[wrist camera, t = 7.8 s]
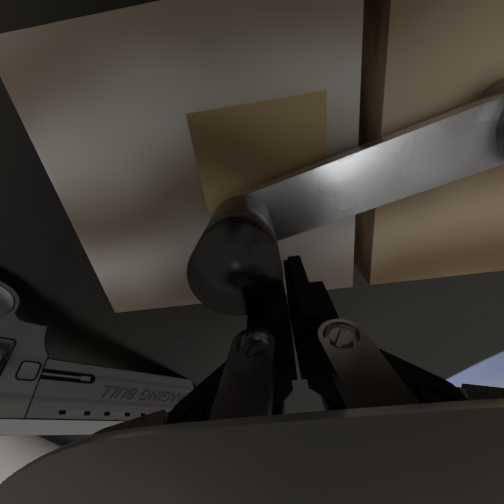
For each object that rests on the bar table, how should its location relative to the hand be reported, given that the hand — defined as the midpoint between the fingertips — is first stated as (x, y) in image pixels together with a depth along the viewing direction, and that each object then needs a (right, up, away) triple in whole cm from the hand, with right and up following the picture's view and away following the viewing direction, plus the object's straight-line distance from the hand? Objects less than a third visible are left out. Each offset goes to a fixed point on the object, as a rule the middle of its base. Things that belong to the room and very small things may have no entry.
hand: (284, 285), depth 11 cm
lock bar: (+4, +5, 0) cm, 7 cm away
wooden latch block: (+2, +7, +5) cm, 9 cm away
